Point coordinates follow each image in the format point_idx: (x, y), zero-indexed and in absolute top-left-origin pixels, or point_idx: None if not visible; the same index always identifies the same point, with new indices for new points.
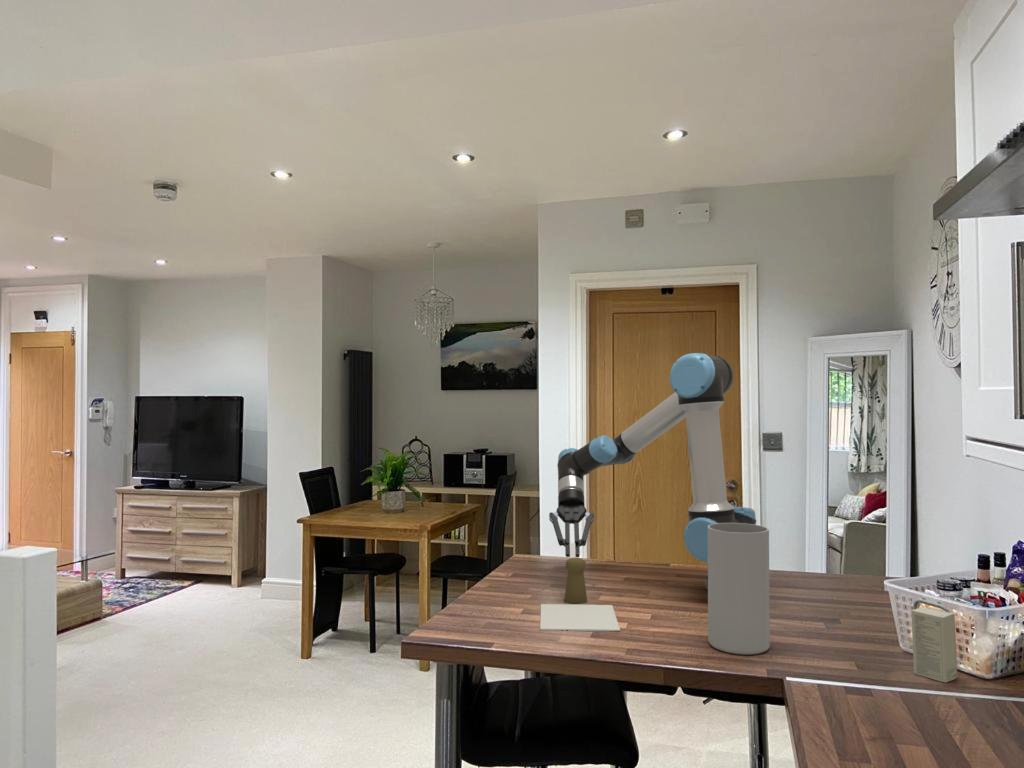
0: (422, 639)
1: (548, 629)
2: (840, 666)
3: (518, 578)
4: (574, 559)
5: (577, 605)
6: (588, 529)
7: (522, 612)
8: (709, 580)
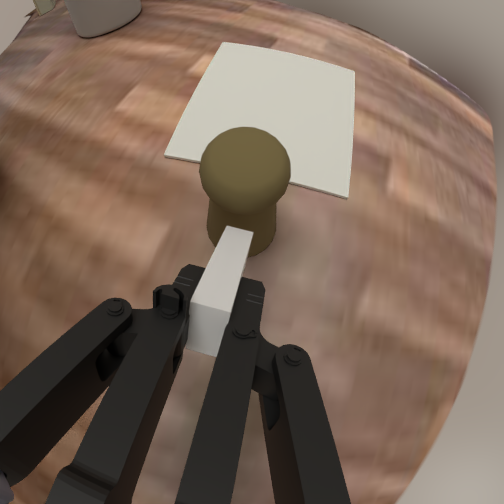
0: (481, 110)
1: (341, 67)
2: None
3: None
4: (256, 140)
5: None
6: (33, 368)
7: (388, 163)
8: None
